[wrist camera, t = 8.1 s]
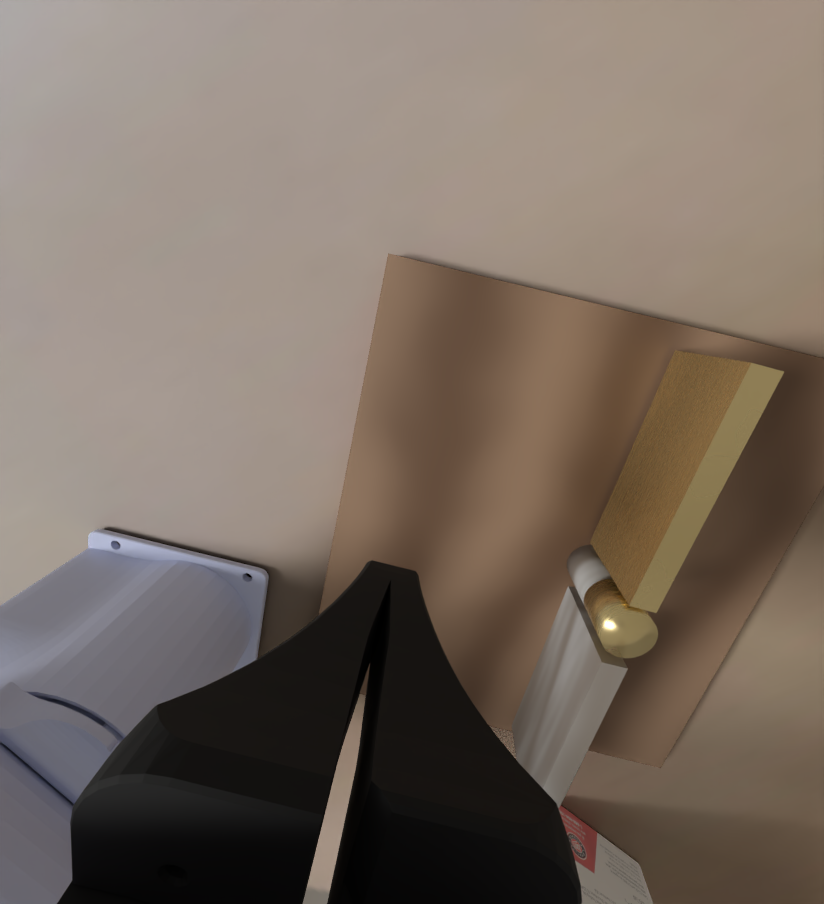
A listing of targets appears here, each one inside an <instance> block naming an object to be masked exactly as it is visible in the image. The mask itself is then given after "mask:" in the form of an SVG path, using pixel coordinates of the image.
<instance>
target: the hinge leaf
mask: <svg viewBox="0 0 824 904" xmlns="http://www.w3.org/2000/svg"><path fill="white" fill-rule="evenodd" d="M783 374H784V371H780V370H776V369H773V368H769V367H765V366H762V365H758V364H754V363H750V362H744V361H738V360H732V359H726V358H719V357H713V356H707V355H701V354H695V353H689V352H683V351H677V350H675V352H674V354H673V356H672V358H671V361H670V363H669V365H668V367H667V370H666V372H665V374H664V376H663V379H662V381H661V383H660V385H659V388H658V390H657V392H656V394H655V397H654V399H653V401H652V404H651V406H650V408H649V410H648V413H647V415H646V417H645V419H644V422H643V424H642V426H641V428H640V431H639V433H638V435H637V437H636V440H635V442H634V444H633V446H632V449H631V451H630V453H629V455H628V458H627V460H626V462H625V464H624V467H623V469H622V471H621V474H620V476H619V478H618V480H617V483H616V485H615V487H614V489H613V492H612V494H611V496H610V498H609V501H608V503H607V505H606V507H605V510H604V512H603V514H602V516H601V519H600V521H599V523H598V525H597V528H596V530H595V532H594V534H593V537H592V539H591V541H590V543H591V545H592V546H593V548H594V550H595V551H596V553H597V554H598V556H599V558H600V559H601V561H602V563H603V564H604V566H605V567H606V569H607V571H608V572H609V574H610V576H611V577H612V579H604V580H601V581H598V582H596V583H594V584H593V585H592V586H590V587H589V588H588V590H587V591H586V593H585V596H584V606H585V609H586V611H587V613H588V615H589V617H590V619H591V622H592V624H593V626H594V628H595V630H596V632H597V634H598V637H599V639H600V641H601V643H602V645H603V647H604V648H605V650H606V651H607V652H609V653H610V654H612V655H614V656H616V657H620V658H634V657H638V656H641V655H643V654H645V653H647V652H648V651H649V650H650V649H652V647H653V646H654V645H655V643H656V641H657V638H658V630H657V627H656V625H655V623H654V622H653V620H652V619H651V617H650V616H649V614H648V613H647V611H650V612H654V613H657V611H658V609H659V607H660V605H661V603H662V602H663V600H664V598H665V596H666V594H667V592H668V590H669V588H670V586H671V585H672V583H673V581H674V579H675V577H676V575H677V573H678V571H679V570H680V568H681V566H682V564H683V562H684V560H685V558H686V556H687V554H688V553H689V551H690V549H691V547H692V545H693V543H694V541H695V539H696V537H697V536H698V534H699V532H700V530H701V528H702V526H703V524H704V522H705V521H706V519H707V517H708V515H709V513H710V511H711V509H712V507H713V505H714V504H715V502H716V500H717V498H718V496H719V494H720V492H721V490H722V489H723V487H724V485H725V483H726V481H727V479H728V477H729V475H730V473H731V472H732V470H733V468H734V466H735V464H736V462H737V460H738V458H739V456H740V455H741V453H742V451H743V449H744V447H745V445H746V443H747V441H748V440H749V438H750V436H751V434H752V432H753V430H754V428H755V426H756V424H757V423H758V421H759V419H760V417H761V415H762V413H763V411H764V409H765V408H766V406H767V404H768V402H769V400H770V398H771V396H772V394H773V392H774V391H775V389H776V387H777V385H778V383H779V381H780V379H781V377H782V375H783ZM646 610H647V611H646Z"/></svg>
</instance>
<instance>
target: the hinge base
mask: <svg viewBox="0 0 824 904" xmlns="http://www.w3.org/2000/svg"><path fill="white" fill-rule="evenodd" d="M675 350H677V351H683V352H689V353H695V354H701V355H707V356H713V357H719V358H726V359H732V360H738V361H744V362H750V363H754V364H758V365H762V366H765V367H769V368H773V369H776V370H780V371H784V374H783V375H782V377H781V379H780V381H779V383H778V385H777V387H776V389H775V391H774V392H773V394H772V396H771V398H770V400H769V402H768V404H767V406H766V408H765V409H764V411H763V413H762V415H761V417H760V419H759V421H758V423H757V424H756V426H755V428H754V430H753V432H752V434H751V436H750V438H749V440H748V441H747V443H746V445H745V447H744V449H743V451H742V453H741V455H740V456H739V458H738V460H737V462H736V464H735V466H734V468H733V470H732V472H731V473H730V475H729V477H728V479H727V481H726V483H725V485H724V487H723V489H722V490H721V492H720V494H719V496H718V498H717V500H716V502H715V504H714V505H713V507H712V509H711V511H710V513H709V515H708V517H707V519H706V521H705V522H704V524H703V526H702V528H701V530H700V532H699V534H698V536H697V537H696V539H695V541H694V543H693V545H692V547H691V549H690V551H689V553H688V554H687V556H686V558H685V560H684V562H683V564H682V566H681V568H680V570H679V571H678V573H677V575H676V577H675V579H674V581H673V583H672V585H671V586H670V588H669V590H668V592H667V594H666V596H665V598H664V600H663V602H662V603H661V605H660V607H659V609H658V611H657V613H654V612H650V611H647V610H646V611H647V613H648V614H649V616H650V617H651V619H652V620H653V622H654V623H655V625H656V627H657V630H658V638H657V641H656V643H655V645H654V646H653V647H652V649H650V650H649V651H648V652H647V653H645V654H643V655H641V656H638V657H634V658H620V657H616V656H614V655H612V654H610V653H609V652H607V651H606V650H605V648H604V647H603V645H602V643H601V641H600V639H599V637H598V634H597V632H596V630H595V628H594V626H593V624H592V622H591V619H590V617H589V615H588V613H587V611H586V609H585V606H584V596H585V593H586V591H587V590H588V588H589V587H590V586H592V585H593V584H594V583H596V582H598V581H601V580H604V579H612V577H611V576H610V574H609V572H608V571H607V569H606V567H605V566H604V564H603V563H602V561H601V559H600V558H599V556H598V554H597V553H596V551H595V550H594V548H593V546H592V545H591V543H590V541H591V539H592V537H593V534H594V532H595V530H596V528H597V525H598V523H599V521H600V519H601V516H602V514H603V512H604V510H605V507H606V505H607V503H608V501H609V498H610V496H611V494H612V492H613V489H614V487H615V485H616V483H617V480H618V478H619V476H620V474H621V471H622V469H623V467H624V464H625V462H626V460H627V458H628V455H629V453H630V451H631V449H632V446H633V444H634V442H635V440H636V437H637V435H638V433H639V431H640V428H641V426H642V424H643V422H644V419H645V417H646V415H647V413H648V410H649V408H650V406H651V404H652V401H653V399H654V397H655V394H656V392H657V390H658V388H659V385H660V383H661V381H662V379H663V376H664V374H665V372H666V370H667V367H668V365H669V363H670V361H671V358H672V356H673V354H674V352H675ZM823 487H824V358H820V357H815V356H811V355H807V354H803V353H799V352H795V351H790V350H786V349H782V348H778V347H774V346H770V345H766V344H761V343H757V342H753V341H749V340H745V339H741V338H737V337H732V336H728V335H724V334H720V333H716V332H712V331H708V330H703V329H699V328H695V327H691V326H687V325H683V324H679V323H674V322H670V321H666V320H662V319H658V318H654V317H650V316H645V315H641V314H637V313H633V312H629V311H625V310H620V309H616V308H612V307H608V306H604V305H600V304H596V303H591V302H587V301H583V300H579V299H575V298H571V297H567V296H562V295H558V294H554V293H550V292H546V291H542V290H538V289H533V288H529V287H525V286H521V285H517V284H513V283H509V282H504V281H500V280H496V279H492V278H488V277H484V276H479V275H475V274H471V273H467V272H463V271H459V270H455V269H450V268H446V267H442V266H438V265H434V264H430V263H426V262H421V261H417V260H413V259H409V258H405V257H401V256H397V255H392V254H388V258H387V263H386V268H385V273H384V278H383V284H382V289H381V294H380V299H379V304H378V309H377V315H376V320H375V325H374V330H373V335H372V341H371V346H370V351H369V356H368V361H367V366H366V372H365V377H364V382H363V387H362V392H361V397H360V403H359V408H358V413H357V418H356V423H355V428H354V434H353V439H352V444H351V449H350V454H349V460H348V465H347V470H346V475H345V480H344V485H343V491H342V496H341V501H340V506H339V511H338V516H337V522H336V527H335V532H334V537H333V542H332V547H331V553H330V558H329V563H328V568H327V573H326V578H325V584H324V589H323V594H322V599H321V604H320V610H319V615H320V614H321V613H322V612H323V611H324V610H325V609H326V608H327V607H329V606H330V605H331V604H332V603H333V602H334V601H335V600H336V599H337V598H338V597H339V596H340V595H341V594H342V593H343V592H344V591H345V590H346V589H347V588H348V587H349V585H350V584H351V583H352V582H353V581H354V580H355V578H356V577H357V576H358V575H359V573H360V572H361V571H362V569H363V568H364V566H365V565H366V563H367V562H369V561H371V560H373V561H377V562H381V563H385V564H390V565H394V566H398V567H402V568H406V569H410V570H414V571H416V572H417V574H418V575H419V581H420V586H421V590H422V594H423V597H424V601H425V604H426V607H427V610H428V613H429V616H430V619H431V621H432V624H433V627H434V629H435V632H436V634H437V637H438V639H439V641H440V644H441V646H442V648H443V650H444V652H445V655H446V657H447V659H448V661H449V663H450V665H451V667H452V668H453V670H454V672H455V674H456V676H457V678H458V679H459V681H460V683H461V685H462V686H463V688H464V690H465V691H466V693H467V694H468V696H469V698H470V699H471V701H472V703H473V704H474V705H475V707H476V708H477V710H478V711H479V712H480V714H481V715H482V717H483V718H484V720H485V721H486V722H487V724H488V725H489V726H492V727H496V728H500V729H505V730H509V731H513V738H514V744H515V751H516V757H517V761H518V763H519V764H520V765H521V766H522V767H523V768H524V769H525V770H526V771H527V772H528V773H529V774H530V775H531V776H532V778H533V779H534V780H535V781H536V782H537V783H538V784H539V785H540V786H541V787H542V788H543V789H544V790H545V791H546V792H547V794H548V795H549V796H550V797H551V798H552V799H553V800H554V801H555V802H556V803H557V806H558V809H559V807H560V805H561V803H562V801H563V799H564V797H565V795H566V793H567V791H568V789H569V787H570V785H571V783H572V781H573V779H574V777H575V775H576V773H577V771H578V769H579V767H580V765H581V763H582V761H583V759H584V757H585V755H586V753H587V751H588V750H590V751H594V752H598V753H602V754H606V755H610V756H614V757H618V758H622V759H626V760H630V761H634V762H638V763H642V764H646V765H650V766H654V767H658V768H661V767H662V765H663V763H664V761H665V760H666V758H667V756H668V754H669V753H670V751H671V749H672V748H673V746H674V744H675V742H676V741H677V739H678V737H679V735H680V734H681V732H682V730H683V729H684V727H685V725H686V723H687V722H688V720H689V718H690V716H691V715H692V713H693V711H694V710H695V708H696V706H697V704H698V703H699V701H700V699H701V697H702V696H703V694H704V692H705V691H706V689H707V687H708V685H709V684H710V682H711V680H712V678H713V677H714V675H715V673H716V671H717V670H718V668H719V666H720V665H721V663H722V661H723V659H724V658H725V656H726V654H727V652H728V651H729V649H730V647H731V646H732V644H733V642H734V640H735V639H736V637H737V635H738V633H739V632H740V630H741V628H742V627H743V625H744V623H745V621H746V620H747V618H748V616H749V614H750V613H751V611H752V609H753V608H754V606H755V604H756V602H757V601H758V599H759V597H760V595H761V594H762V592H763V590H764V589H765V587H766V585H767V583H768V582H769V580H770V578H771V576H772V575H773V573H774V571H775V570H776V568H777V566H778V564H779V563H780V561H781V559H782V557H783V556H784V554H785V552H786V550H787V549H788V547H789V545H790V544H791V542H792V540H793V538H794V537H795V535H796V533H797V531H798V530H799V528H800V526H801V525H802V523H803V521H804V519H805V518H806V516H807V514H808V512H809V511H810V509H811V507H812V506H813V504H814V502H815V500H816V499H817V497H818V495H819V493H820V492H821V490H822V488H823ZM319 615H318V616H319ZM369 667H370V664H369ZM369 667H368V670H367V673H366V676H365V679H364V682H363V685H362V688H361V691H360V694H363V695H366V690H367V683H368V675H369Z"/></svg>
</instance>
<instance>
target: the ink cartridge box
mask: <svg viewBox="0 0 824 904" xmlns="http://www.w3.org/2000/svg"><path fill="white" fill-rule="evenodd" d="M559 812H560V815H561V818H562V821H563V823H564V826H565V829H566V832H567V835H568V838H569V842H570V845H571V848H572V851H573V855H574V858H575V863H576V867H577V871H578V876H579V880H580V884H581V895H582V904H653V902H652V899H651V896H650V893H649V890H648V887H647V885H646V882H645V879H644V876H643V873H642V870H641V867H640V865H639V864H638V863H637V862H636V861H635V860H633V859H632V858H631V857H629V856H628V855H627V854H626V853H624V852H623V851H622V850H620V849H619V848H617V847H616V846H615V845H613V844H612V843H611V842H609V841H608V840H607V839H605V838H604V837H603V836H601V835H600V834H599V833H597V832H596V831H595V830H593V829H592V828H591V827H589V826H588V825H586V824H585V823H584V822H582V821H581V820H580V819H578V818H577V817H576V816H574V815H573V814H572V813H570V812H569V811H568V810H566V809H565V808H564V807H562V806H561V805H560V807H559Z"/></svg>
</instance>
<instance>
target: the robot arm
mask: <svg viewBox="0 0 824 904" xmlns="http://www.w3.org/2000/svg"><path fill="white" fill-rule="evenodd" d="M117 542H119V543H120V545H119V544H118V543H117ZM246 573H248V574H250V575H251V576H252V578H250V577H248V576H247V575H246ZM268 580H269V575H268V573H267V572H266V571H265V570H264V569H262V568H259V567H255V566H250V565H246V564H242V563H238V562H234V561H230V560H226V559H222V558H218V557H214V556H210V555H206V554H202V553H198V552H193V551H189V550H185V549H181V548H177V547H173V546H169V545H165V544H161V543H157V542H153V541H149V540H145V539H141V538H136V537H132V536H128V535H124V534H120V533H116V532H112V531H108V530H104V529H96V530H94V531H93V532H91V533H90V534H89V537H88V549H86V550H85V551H83V552H82V553H80V554H79V555H77V556H75V557H74V558H72V559H71V560H69V561H68V562H66V563H65V564H63V565H62V566H60V567H59V568H57V569H56V570H54V571H52V572H51V573H49V574H48V575H46V576H45V577H43V578H42V579H40V580H39V581H37V582H36V583H34V584H33V585H31V586H29V587H28V588H26V589H25V590H23V591H22V592H20V593H19V594H17V595H16V596H14V597H13V598H11V599H10V600H8V601H7V602H5V603H3V604H2V605H0V904H302V903H303V899H304V896H305V892H306V888H307V884H308V879H309V875H310V871H311V867H312V863H313V859H314V855H315V851H316V847H317V843H318V839H319V835H320V831H321V827H322V823H323V819H324V814H325V810H326V806H327V802H328V798H329V794H330V790H331V786H332V782H333V778H334V774H335V770H336V766H337V762H338V759H339V755H340V752H341V749H342V745H343V742H344V739H345V736H346V733H347V730H348V727H349V724H350V721H351V718H352V715H353V712H354V709H355V706H356V703H357V700H358V697H359V694H360V691H361V688H362V685H363V682H364V679H365V676H366V673H367V670H368V667H369V664H370V667H369V675H368V683H367V690H366V698H365V706H364V714H363V722H362V730H361V738H360V746H359V753H358V759H357V765H356V771H355V776H354V780H353V785H352V790H351V795H350V799H349V804H348V809H347V814H346V818H345V823H344V828H343V832H342V837H341V842H340V846H339V851H338V856H337V861H336V865H335V870H334V875H333V879H332V884H331V889H330V893H329V898H328V903H327V904H582V895H581V884H580V880H579V876H578V871H577V867H576V863H575V858H574V855H573V851H572V848H571V845H570V842H569V838H568V835H567V832H566V829H565V826H564V823H563V821H562V818H561V815H560V812H559V809H558V806H557V803H556V802H555V801H554V800H553V799H552V798H551V797H550V796H549V795H548V794H547V792H546V791H545V790H544V789H543V788H542V787H541V786H540V785H539V784H538V783H537V782H536V781H535V780H534V779H533V778H532V776H531V775H530V774H529V773H528V772H527V771H526V770H525V769H524V768H523V767H522V766H521V765H520V764H519V763H518V761H517V760H516V759H515V758H514V757H513V755H512V754H511V753H510V752H509V751H508V749H507V748H506V747H505V746H504V744H503V743H502V742H501V741H500V740H499V738H498V737H497V736H496V735H495V733H494V732H493V731H492V729H491V728H490V727H489V725H488V724H487V722H486V721H485V720H484V718H483V717H482V715H481V714H480V712H479V711H478V710H477V708H476V707H475V705H474V704H473V703H472V701H471V699H470V698H469V696H468V694H467V693H466V691H465V690H464V688H463V686H462V685H461V683H460V681H459V679H458V678H457V676H456V674H455V672H454V670H453V668H452V667H451V665H450V663H449V661H448V659H447V657H446V655H445V652H444V650H443V648H442V646H441V644H440V641H439V639H438V637H437V634H436V632H435V629H434V627H433V624H432V621H431V619H430V616H429V613H428V610H427V607H426V604H425V601H424V597H423V594H422V590H421V586H420V581H419V575H418V574H417V572H416V571H414V570H410V569H406V568H402V567H398V566H394V565H390V564H385V563H381V562H377V561H373V560H371V561H369V562H367V563H366V565H365V566H364V568H363V569H362V571H361V572H360V573H359V575H358V576H357V577H356V578H355V580H354V581H353V582H352V583H351V584H350V585H349V587H348V588H347V589H346V590H345V591H344V592H343V593H342V594H341V595H340V596H339V597H338V598H337V599H336V600H335V601H334V602H333V603H332V604H331V605H330V606H329V607H327V608H326V609H325V610H324V611H323V612H322V613H321V614H320V615H319V616H317V617H316V618H315V619H314V620H313V621H312V622H310V623H309V624H308V625H307V626H305V627H304V628H303V629H301V630H300V631H299V632H297V633H296V634H295V635H293V636H292V637H291V638H289V639H288V640H286V641H285V642H283V643H282V644H280V645H279V646H277V647H276V648H274V649H273V650H271V651H270V652H268V653H266V654H265V655H263V656H262V657H260V658H258V659H257V657H258V650H259V643H260V636H261V629H262V622H263V615H264V608H265V601H266V594H267V587H268Z"/></svg>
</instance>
